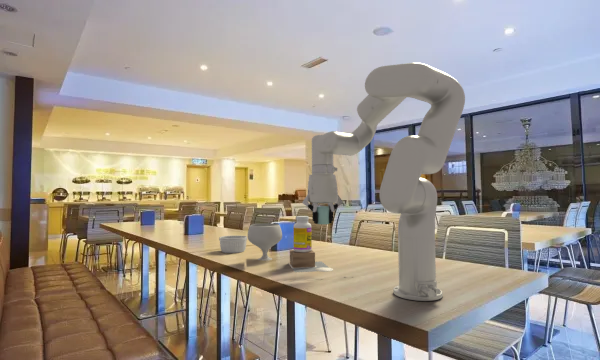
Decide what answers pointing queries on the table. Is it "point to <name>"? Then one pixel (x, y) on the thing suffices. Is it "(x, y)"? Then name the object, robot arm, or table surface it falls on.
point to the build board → (313, 268)
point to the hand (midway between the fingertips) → (322, 222)
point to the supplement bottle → (302, 235)
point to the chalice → (264, 237)
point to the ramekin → (233, 244)
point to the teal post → (323, 214)
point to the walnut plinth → (302, 259)
